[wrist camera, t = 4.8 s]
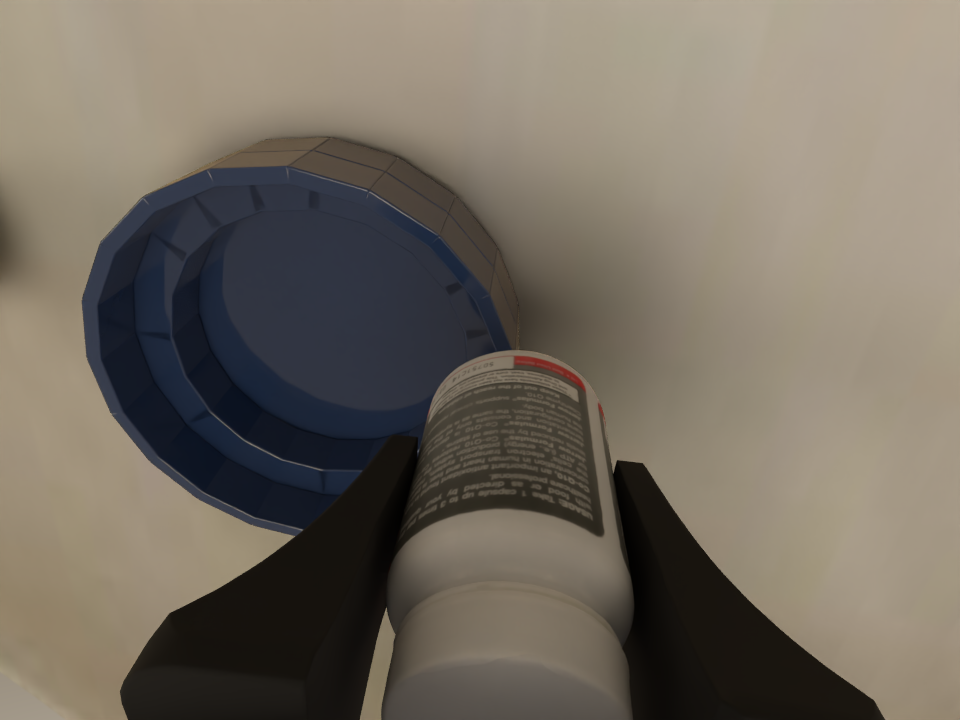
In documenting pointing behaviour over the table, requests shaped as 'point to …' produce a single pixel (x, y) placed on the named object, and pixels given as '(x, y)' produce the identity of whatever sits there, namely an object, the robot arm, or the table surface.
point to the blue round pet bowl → (289, 320)
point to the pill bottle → (511, 554)
